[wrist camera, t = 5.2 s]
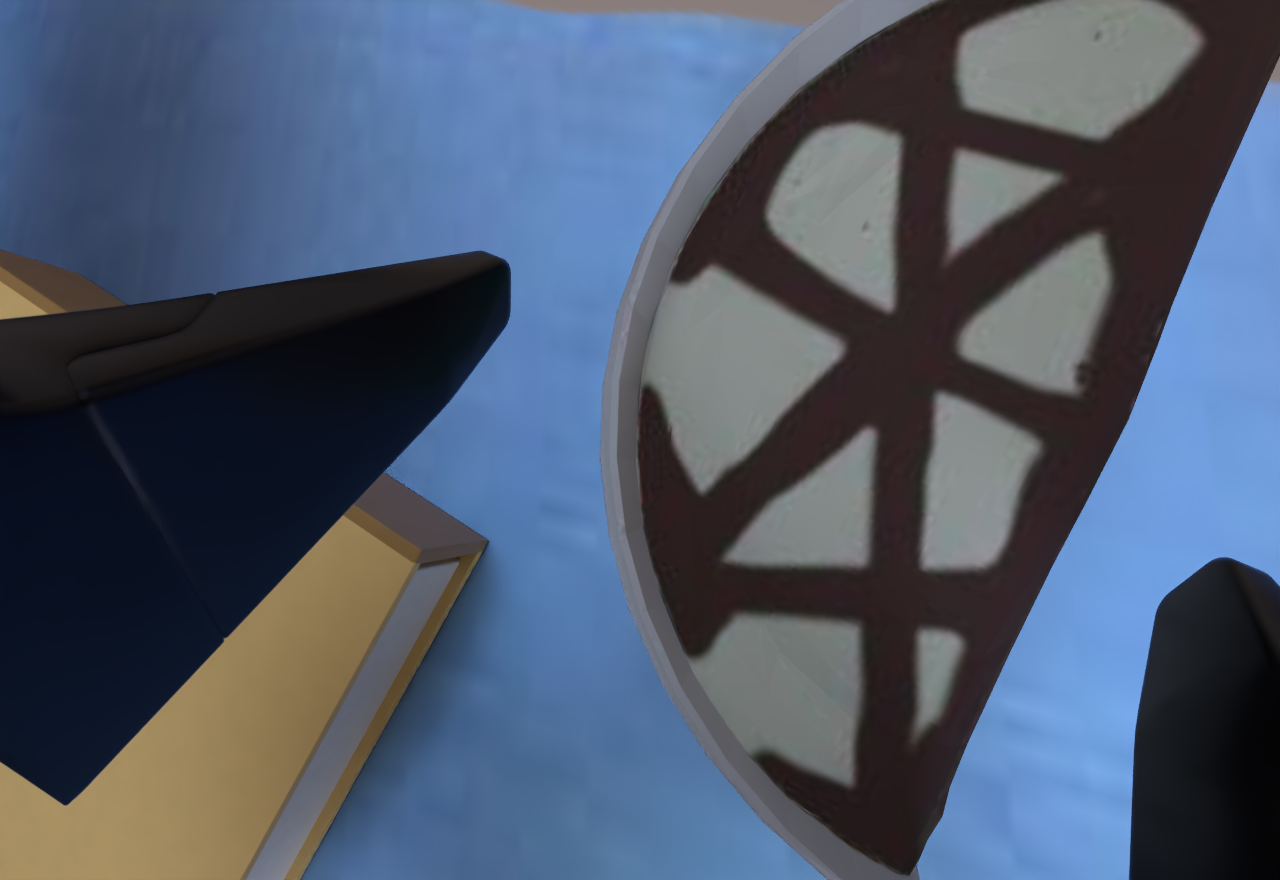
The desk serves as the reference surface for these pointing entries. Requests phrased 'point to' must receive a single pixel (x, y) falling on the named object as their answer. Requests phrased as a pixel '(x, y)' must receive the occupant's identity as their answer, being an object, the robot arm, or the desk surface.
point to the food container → (900, 375)
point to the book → (251, 693)
